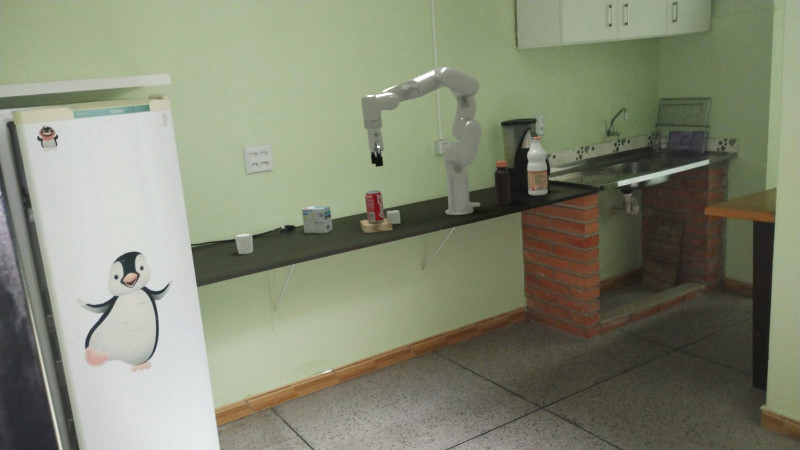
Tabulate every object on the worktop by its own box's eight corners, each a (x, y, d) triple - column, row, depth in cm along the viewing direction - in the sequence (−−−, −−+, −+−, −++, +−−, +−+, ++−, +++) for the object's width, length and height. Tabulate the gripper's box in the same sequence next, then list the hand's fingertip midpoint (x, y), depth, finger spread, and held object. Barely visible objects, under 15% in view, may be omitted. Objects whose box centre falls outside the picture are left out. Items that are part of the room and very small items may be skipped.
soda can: (382, 223, 286) (379, 192, 283) (365, 224, 287) (362, 193, 284) (386, 219, 292) (383, 189, 290) (370, 220, 294) (367, 190, 291)
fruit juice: (524, 194, 338) (522, 138, 332) (535, 191, 344) (533, 135, 338) (540, 196, 331) (538, 138, 325) (551, 192, 338) (549, 136, 332)
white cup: (238, 250, 272) (235, 233, 271) (255, 249, 273) (253, 232, 271) (235, 255, 265) (233, 237, 264) (253, 253, 266) (251, 236, 264)
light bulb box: (333, 229, 296) (330, 205, 294) (326, 233, 290) (323, 208, 288) (310, 229, 300) (308, 205, 297) (303, 233, 294) (301, 208, 291)
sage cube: (398, 221, 303) (397, 210, 302) (400, 223, 298) (399, 212, 297) (387, 222, 302) (386, 211, 301) (389, 224, 297) (388, 213, 296)
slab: (387, 224, 298) (387, 217, 297) (392, 230, 286) (391, 223, 285) (360, 227, 296) (359, 220, 295) (364, 233, 284) (363, 226, 283)
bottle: (511, 205, 316) (509, 162, 312) (496, 206, 317) (494, 163, 312) (509, 202, 323) (507, 160, 319) (495, 203, 323) (492, 161, 319)
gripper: (385, 124, 279) (389, 166, 283) (378, 122, 296) (382, 161, 299) (367, 126, 278) (372, 168, 282) (361, 124, 294) (365, 163, 298)
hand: (377, 164), depth 290 cm, fingers open, 9 cm apart
